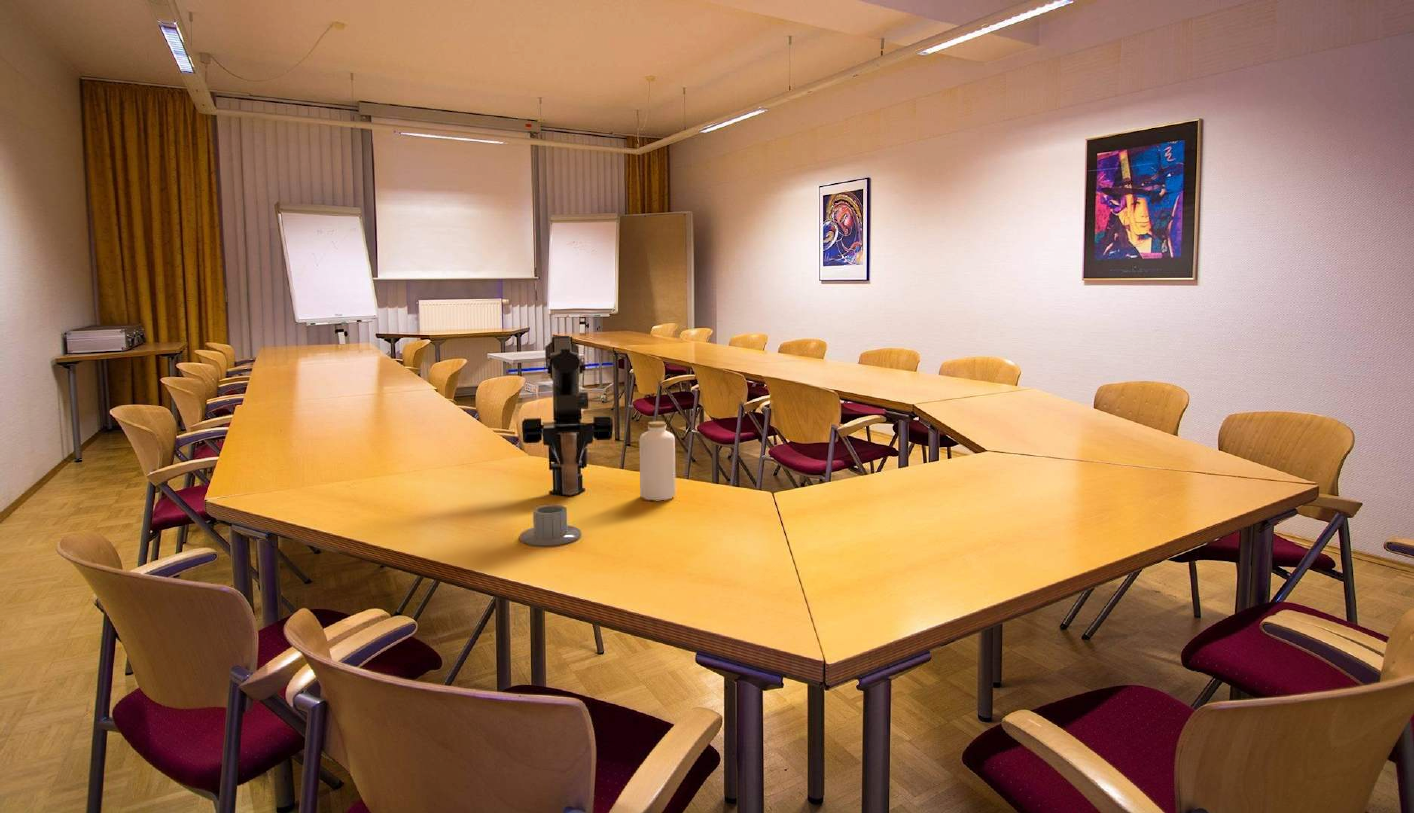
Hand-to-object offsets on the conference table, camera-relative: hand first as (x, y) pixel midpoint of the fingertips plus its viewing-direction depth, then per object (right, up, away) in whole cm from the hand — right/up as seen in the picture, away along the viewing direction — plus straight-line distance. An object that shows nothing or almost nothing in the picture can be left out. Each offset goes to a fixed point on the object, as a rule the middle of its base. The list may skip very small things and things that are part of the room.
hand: (569, 463), depth 159 cm
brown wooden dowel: (0, -6, +2) cm, 7 cm away
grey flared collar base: (-3, -14, -4) cm, 15 cm away
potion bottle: (+17, -10, +25) cm, 31 cm away
